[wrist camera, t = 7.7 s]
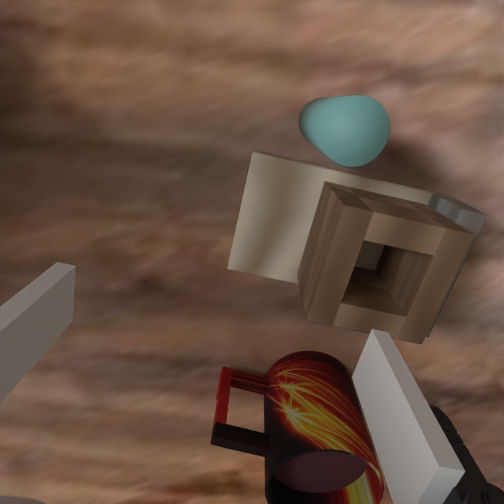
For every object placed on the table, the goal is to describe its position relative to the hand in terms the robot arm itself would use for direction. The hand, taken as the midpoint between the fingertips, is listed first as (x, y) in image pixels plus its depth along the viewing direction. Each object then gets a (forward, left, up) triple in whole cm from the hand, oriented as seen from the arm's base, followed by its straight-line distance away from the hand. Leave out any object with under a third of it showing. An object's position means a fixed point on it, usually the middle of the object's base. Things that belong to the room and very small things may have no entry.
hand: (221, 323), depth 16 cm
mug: (+9, -19, -19) cm, 28 cm away
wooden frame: (+8, 0, -19) cm, 21 cm away
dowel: (+5, +9, -19) cm, 21 cm away
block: (+11, 0, -18) cm, 21 cm away
